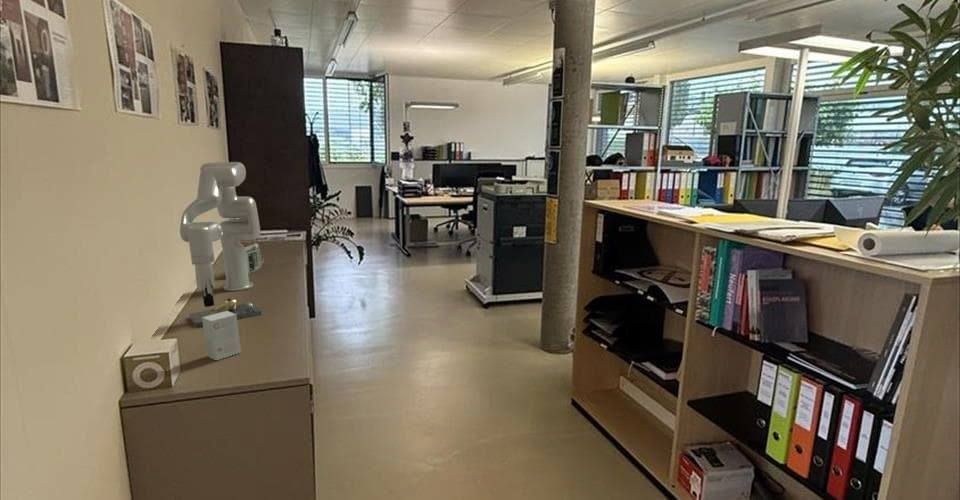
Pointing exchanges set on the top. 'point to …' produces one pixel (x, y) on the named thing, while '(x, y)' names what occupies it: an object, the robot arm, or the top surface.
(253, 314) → the flat grey rectangular plate
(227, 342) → the small box
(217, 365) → the top surface
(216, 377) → the top surface
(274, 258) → the top surface
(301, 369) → the top surface
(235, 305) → the lever with round hub
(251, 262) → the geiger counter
